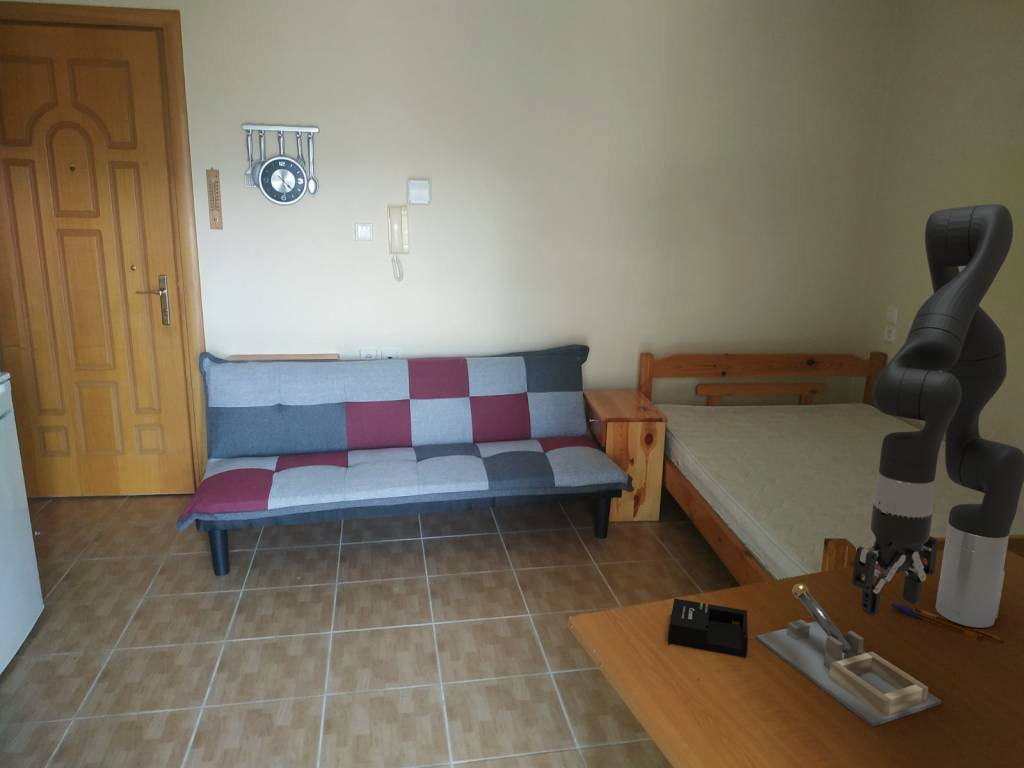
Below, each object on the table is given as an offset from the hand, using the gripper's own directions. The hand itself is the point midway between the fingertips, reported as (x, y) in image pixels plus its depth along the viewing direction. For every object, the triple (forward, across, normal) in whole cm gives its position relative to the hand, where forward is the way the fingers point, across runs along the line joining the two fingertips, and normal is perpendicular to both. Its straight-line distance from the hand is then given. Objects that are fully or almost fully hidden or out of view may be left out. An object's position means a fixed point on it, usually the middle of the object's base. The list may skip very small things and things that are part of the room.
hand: (890, 607), depth 103 cm
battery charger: (+15, +15, -23) cm, 31 cm away
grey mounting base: (+14, 0, 0) cm, 15 cm away
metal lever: (+10, 0, -7) cm, 12 cm away
